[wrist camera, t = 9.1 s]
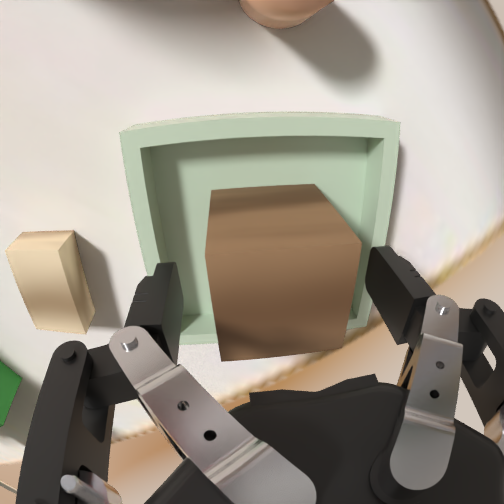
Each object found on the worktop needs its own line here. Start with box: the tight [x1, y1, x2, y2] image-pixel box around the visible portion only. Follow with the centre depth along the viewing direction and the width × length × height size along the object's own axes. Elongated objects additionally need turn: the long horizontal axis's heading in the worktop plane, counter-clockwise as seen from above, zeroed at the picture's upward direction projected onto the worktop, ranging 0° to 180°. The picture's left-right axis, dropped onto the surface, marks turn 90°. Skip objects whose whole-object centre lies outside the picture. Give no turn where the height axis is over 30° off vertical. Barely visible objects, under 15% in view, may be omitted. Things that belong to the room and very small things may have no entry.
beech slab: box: [5, 230, 96, 334], centre depth 16 cm, size 6×4×2 cm, turn 177°
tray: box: [119, 112, 400, 345], centre depth 15 cm, size 12×12×2 cm
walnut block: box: [205, 184, 362, 362], centre depth 13 cm, size 5×5×6 cm
